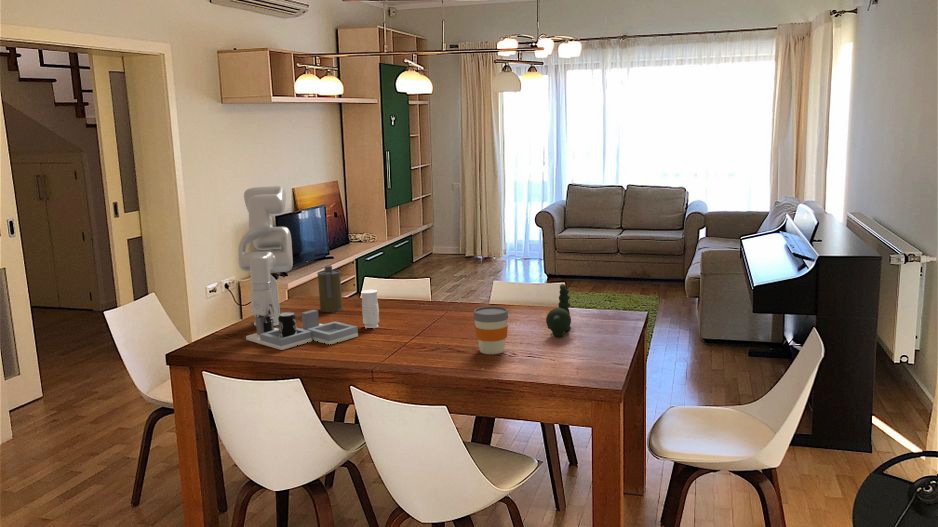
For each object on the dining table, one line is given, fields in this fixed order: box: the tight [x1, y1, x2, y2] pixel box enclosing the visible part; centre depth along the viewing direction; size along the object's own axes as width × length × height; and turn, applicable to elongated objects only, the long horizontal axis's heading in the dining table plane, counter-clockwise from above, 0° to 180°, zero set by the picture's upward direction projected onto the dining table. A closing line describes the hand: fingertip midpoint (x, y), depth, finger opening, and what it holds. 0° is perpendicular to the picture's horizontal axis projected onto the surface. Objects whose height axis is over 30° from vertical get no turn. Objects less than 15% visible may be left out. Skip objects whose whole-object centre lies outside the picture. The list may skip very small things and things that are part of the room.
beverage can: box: [278, 311, 298, 338], centre depth 296 cm, size 7×7×12 cm
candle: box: [360, 289, 380, 329], centre depth 316 cm, size 7×7×15 cm
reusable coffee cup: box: [473, 305, 509, 355], centre depth 278 cm, size 13×13×15 cm
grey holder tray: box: [245, 316, 313, 351], centre depth 301 cm, size 24×14×8 cm, turn 48°
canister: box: [316, 264, 344, 313], centre depth 347 cm, size 11×10×20 cm
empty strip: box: [301, 309, 359, 346], centre depth 305 cm, size 24×14×8 cm, turn 48°
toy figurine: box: [545, 283, 572, 339], centre depth 296 cm, size 9×19×25 cm
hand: (265, 330), depth 307 cm, fingers closed on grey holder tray, 3 cm apart
